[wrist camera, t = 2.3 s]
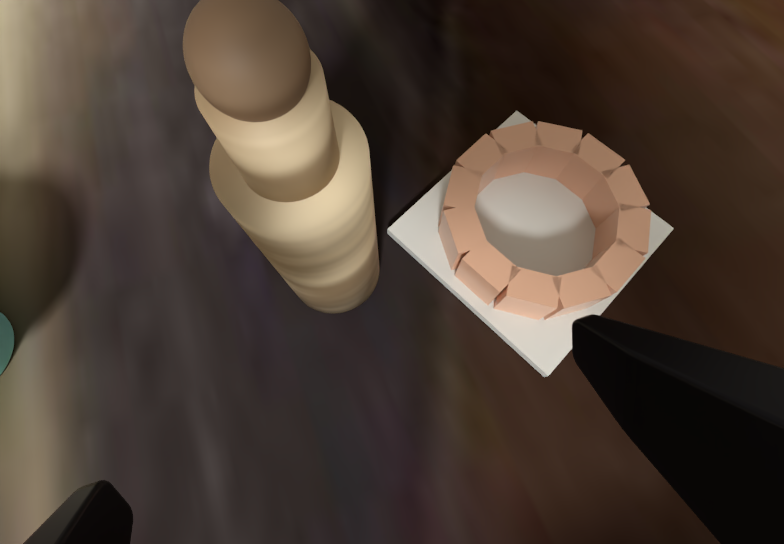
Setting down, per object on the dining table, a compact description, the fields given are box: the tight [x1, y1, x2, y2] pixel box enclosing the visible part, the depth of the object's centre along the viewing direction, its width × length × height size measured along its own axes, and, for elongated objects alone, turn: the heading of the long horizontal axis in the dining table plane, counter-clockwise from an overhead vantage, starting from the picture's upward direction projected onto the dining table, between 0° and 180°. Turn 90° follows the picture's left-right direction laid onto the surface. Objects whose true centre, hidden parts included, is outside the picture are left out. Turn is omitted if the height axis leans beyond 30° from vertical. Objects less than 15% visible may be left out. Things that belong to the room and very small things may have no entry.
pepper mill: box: [183, 0, 380, 313], centre depth 15 cm, size 5×5×16 cm
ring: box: [387, 111, 674, 377], centre depth 22 cm, size 11×11×3 cm
